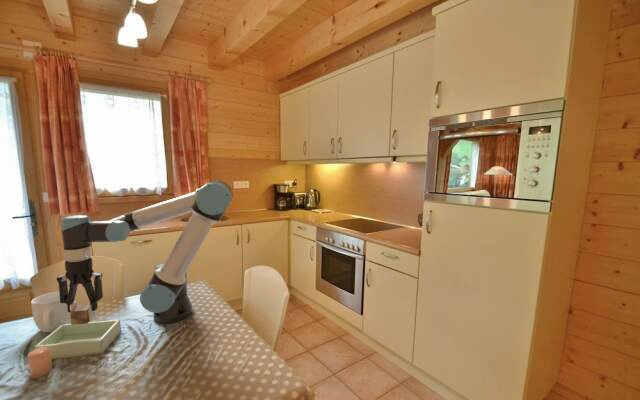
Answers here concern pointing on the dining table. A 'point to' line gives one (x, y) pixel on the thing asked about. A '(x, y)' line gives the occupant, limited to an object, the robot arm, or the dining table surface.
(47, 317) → the mug
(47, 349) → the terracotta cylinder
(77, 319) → the walnut cube
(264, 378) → the dining table surface
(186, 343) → the dining table surface
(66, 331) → the tray
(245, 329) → the dining table surface
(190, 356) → the dining table surface
